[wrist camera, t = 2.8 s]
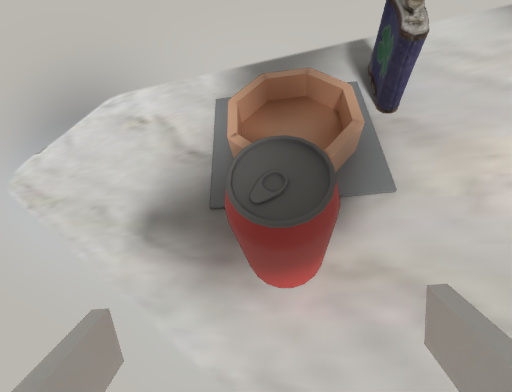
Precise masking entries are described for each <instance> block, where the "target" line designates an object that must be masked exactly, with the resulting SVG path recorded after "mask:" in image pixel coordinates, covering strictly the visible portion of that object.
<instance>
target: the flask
mask: <svg viewBox="0 0 512 392" xmlns="http://www.w3.org/2000/svg"><path fill="white" fill-rule="evenodd" d="M424 2H425V0H386V4H385V7H384V12H383V15H382V19H381V24H380V27H379V31H378V35H377V38H376V42H375V46H374V49H373V53H372V56H371V61H370V63H369V67H368V68H369V70H368V74H369V75H370V76H371V86H372V88H373V89H374V90H375V93H374V95H375V96H376V100H375V102H376V109H378V110H379V111H380V112H382V113H393V112H396V110H397V108H398V106H399V103H400V100H401V97H402V95H403V92H404V89H405V87H406V85H407V82H408V79H409V77H410V74H411V72H412V69H413V67H414V65H415V62H416V60H417V58H418V56H419V53H420V51H421V48H422V46H423V44H424V41H425V39H426V37H427V34H428V32H429V20H428V14H427V11H426V8H425V3H424Z"/></svg>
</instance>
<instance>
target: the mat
mask: <svg viewBox="0 0 512 392" xmlns="http://www.w3.org/2000/svg"><path fill="white" fill-rule="evenodd" d="M348 84H350V85H351V86H352V87H353V90H354V93H355V96H356V98H357V101H358V104H359V107H360V110H361V113H362V116H363V119H364V121H365V122H364V126H363V129H362V132H361V135H360V138H359V142H358V145H357V148H356V150H355V151H354V152H353V154H352V155H351V156H350V157H349V158H348V159H347V160H346V161H345V162H344V164H343V165H342V166H341V167H340V168H339V169H338V170H337V171H336V172H335V176H336V181H337V185H338V192H339V197H346V196H357V195H367V194H378V193H389V192H396V190H397V189H396V187H395V184H394V181H393V178H392V176H391V173H390V170H389V168H388V165H387V162H386V159H385V157H384V154H383V151H382V149H381V146H380V143H379V140H378V138H377V135H376V132H375V129H374V127H373V124H372V121H371V119H370V116H369V113H368V110H367V108H366V105H365V102H364V99H363V97H362V94H361V91H360V89H359V86H358V83H357V81H356V82H348ZM231 98H232V97H229V98H221V99H216V107H215V125H214V142H213V160H212V178H211V195H210V208H211V209H215V208H225V194H226V186H225V184H226V175H227V170H228V168H229V166H230V164H231V162H232V160H233V159H234V158H233V155H232V151H231V148H230V145H229V141H228V138H227V127H228V101H229V99H231Z"/></svg>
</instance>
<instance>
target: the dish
mask: <svg viewBox="0 0 512 392" xmlns="http://www.w3.org/2000/svg"><path fill="white" fill-rule="evenodd" d="M364 122H365V121H364V119H363V116H362V113H361V110H360V107H359V104H358V101H357V98H356V96H355V93H354V90H353V87H352V86H351V85H350V84H348V83H346V82H343V81H341V80H338V79H336V78H334V77H331V76H329V75H326V74H324V73H322V72H319V71H317V70H314V69H312V68H302V69H294V70H287V71H279V72H272V73H264V74H261V75H259V76H258V77H257V78H256V79H254V80H253V81H252V82H251V83H249V84H248V85H247V86H246V87H244V88H243V89H242V90H241V91H239V92H238V93H237V94H236V95H234V96H233V97H232V98H231V99H229V101H228V127H227V138H228V141H229V145H230V148H231V151H232V155H233V158H234V157H235V156H236V155H237V154H238V153H239V152H240V151H241V150H242V149H243V148H245V147H246V146H248V145H250V144H251V143H253V142H255V141H257V140H260V139H263V138H266V137H270V136H282V135H288V136H294V137H299V138H303V139H305V140H307V141H309V142H312V143H314V144H316V145H317V146H318V147H319V148H320V149H322V150H323V151H324V152H325V153H326V154H327V155H328V157H329V159H330V160H331V162H332V164H333V166H334V169H335V172H336V171H337V170H338V169H339V168H340V167H341V166H342V165H343V164H344V162H345V161H346V160H347V159H348V158H349V157H350V156H351V155H352V154H353V152H354V151H355V150H356V148H357V145H358V142H359V138H360V135H361V132H362V129H363V126H364Z"/></svg>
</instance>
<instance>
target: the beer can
mask: <svg viewBox="0 0 512 392" xmlns="http://www.w3.org/2000/svg"><path fill="white" fill-rule="evenodd" d="M225 186H226V194H225V209H226V213H227V217H228V221H229V224H230V226H231V228H232V230H233V232H234V234H235V236H236V238H237V240H238V242H239V244H240V246H241V248H242V250H243V252H244V254H245V256H246V258H247V260H248V262H249V264H250V266H251V267H252V269H253V270H254V272H255V273H256V275H257V276H258V277H259V278H260V279H262V280H263V281H264V282H266V283H267V284H270V285H273V286H275V287H278V288H293V287H297V286H300V285H303V284H305V283H306V282H307V281H309V280H310V279H311V278H313V277H314V276H315V274H316V273H317V271H318V270H319V268H320V266H321V264H322V261H323V258H324V255H325V252H326V249H327V246H328V243H329V240H330V238H331V235H332V232H333V229H334V226H335V223H336V220H337V216H338V211H339V207H340V199H339V192H338V185H337V181H336V176H335V169H334V166H333V164H332V162H331V160H330V159H329V157H328V155H327V154H326V153H325V152H324V151H323V150H322V149H320V148H319V147H318V146H317V145H316V144H314V143H312V142H309V141H307V140H305V139H303V138H299V137H294V136H288V135H282V136H270V137H266V138H263V139H260V140H257V141H255V142H253V143H251V144H250V145H248V146H246V147H245V148H243V149H242V150H241V151H240V152H239V153H238V154H237V155H236V156H235V157H234V159H233V160H232V162H231V164H230V166H229V168H228V170H227V175H226V184H225Z"/></svg>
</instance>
